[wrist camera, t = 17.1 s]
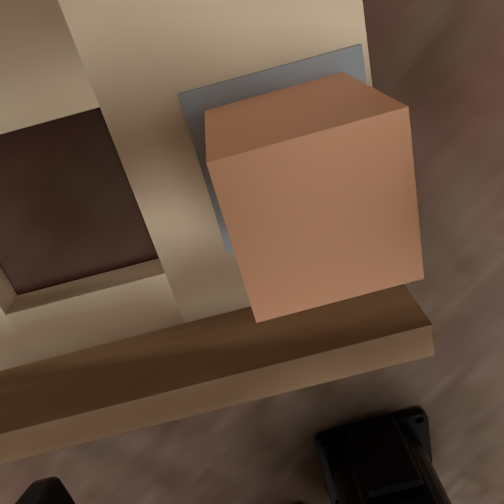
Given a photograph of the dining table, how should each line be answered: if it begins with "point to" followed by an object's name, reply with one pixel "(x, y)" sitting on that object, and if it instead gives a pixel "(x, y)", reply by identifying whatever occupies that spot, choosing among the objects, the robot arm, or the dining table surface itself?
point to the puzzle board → (172, 221)
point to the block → (316, 193)
